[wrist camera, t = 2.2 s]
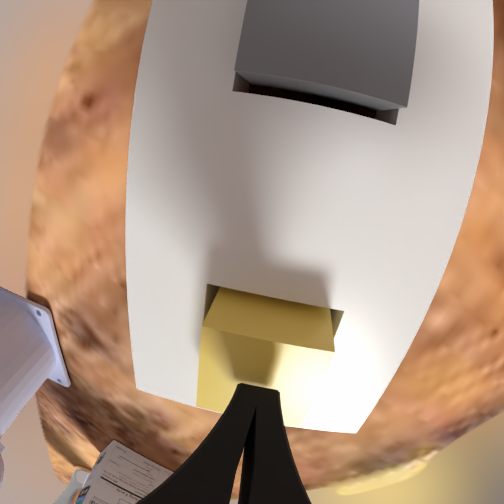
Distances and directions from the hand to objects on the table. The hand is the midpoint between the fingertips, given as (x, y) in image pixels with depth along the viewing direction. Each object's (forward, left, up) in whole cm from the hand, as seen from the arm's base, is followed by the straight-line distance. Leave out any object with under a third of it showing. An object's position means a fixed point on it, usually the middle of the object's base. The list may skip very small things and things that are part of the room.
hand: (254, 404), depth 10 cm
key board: (0, +6, -6) cm, 8 cm away
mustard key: (0, 0, -4) cm, 4 cm away
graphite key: (0, +12, -4) cm, 13 cm away
